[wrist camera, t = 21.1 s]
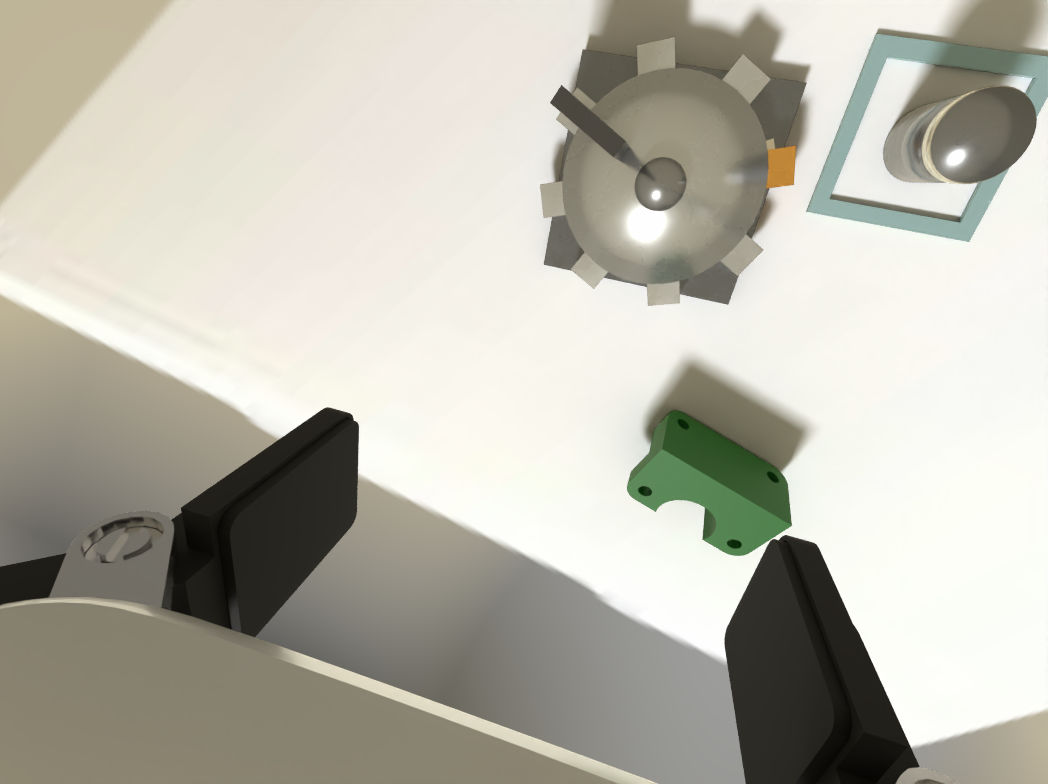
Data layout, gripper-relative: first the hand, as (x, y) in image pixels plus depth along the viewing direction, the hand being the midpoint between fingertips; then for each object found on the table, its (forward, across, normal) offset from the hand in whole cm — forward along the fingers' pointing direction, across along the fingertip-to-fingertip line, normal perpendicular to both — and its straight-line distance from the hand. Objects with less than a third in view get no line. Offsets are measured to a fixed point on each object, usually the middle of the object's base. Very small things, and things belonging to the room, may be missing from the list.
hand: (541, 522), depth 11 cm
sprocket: (+29, -1, -7) cm, 30 cm away
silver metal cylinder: (+30, -16, -12) cm, 36 cm away
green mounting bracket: (+31, -11, +14) cm, 35 cm away
